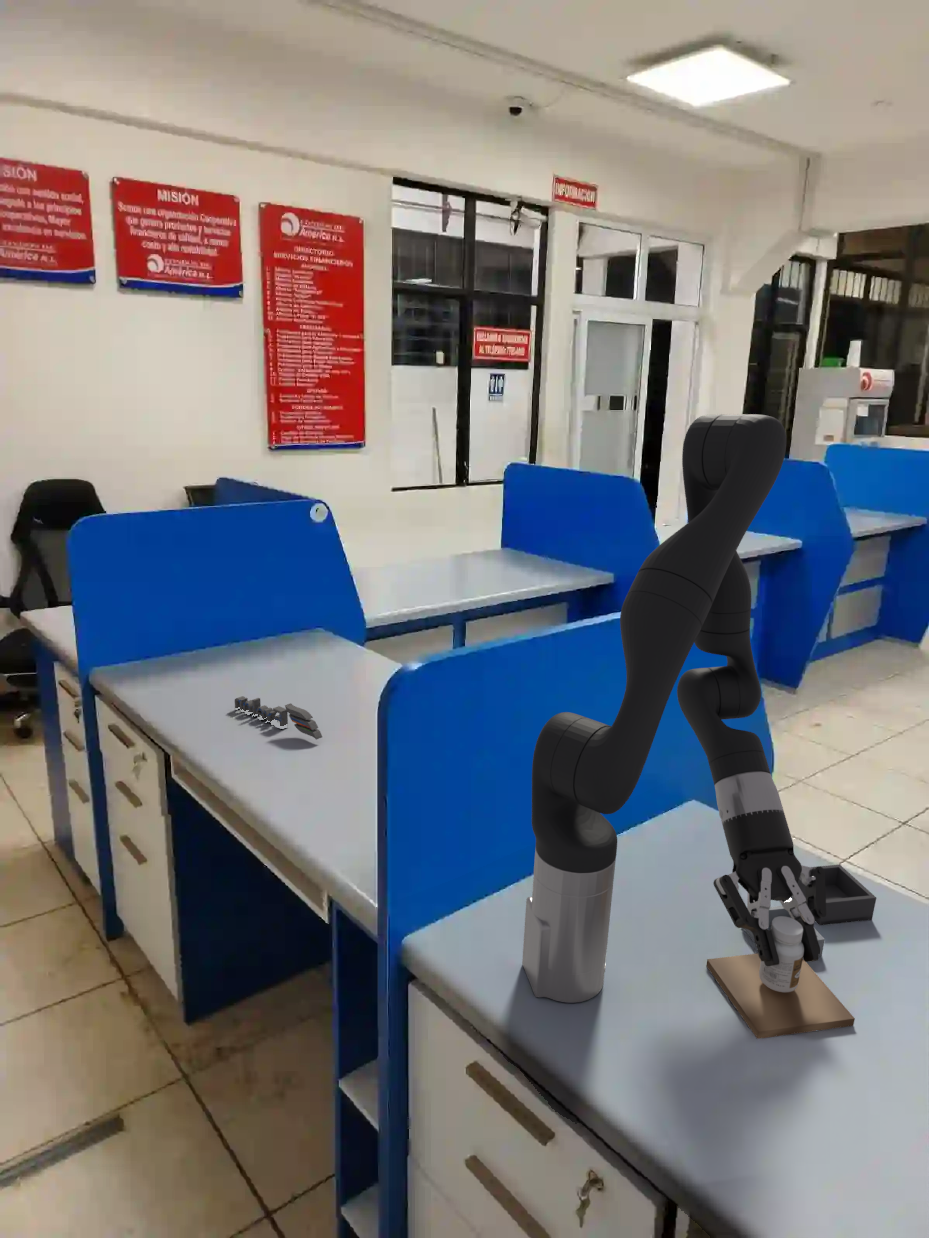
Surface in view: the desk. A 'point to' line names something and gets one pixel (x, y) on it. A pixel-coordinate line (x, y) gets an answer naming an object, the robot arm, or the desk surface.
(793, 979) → the pill bottle
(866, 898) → the box
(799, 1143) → the desk surface
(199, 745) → the desk surface
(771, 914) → the sleeve
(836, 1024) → the walnut pad
